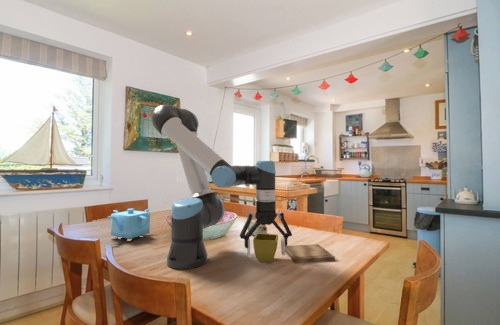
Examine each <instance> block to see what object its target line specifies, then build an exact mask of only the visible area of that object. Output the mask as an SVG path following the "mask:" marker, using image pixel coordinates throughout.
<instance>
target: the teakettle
mask: <svg viewBox="0 0 500 325" xmlns="http://www.w3.org/2000/svg"><path fill="white" fill-rule="evenodd" d="M150 210H151V208H147V209H144V211H141V210H135V208H127V210H125V211H120V212H119V211H118V210H115V209H114V210H112V211H113V213H111V214H110V215H109V216H107V218H109V219H110V220H111V221H110V226H111V227H110V235H111V236H113V237H116V238H118V237H122V238H123V239H134V238H138V236H144V237H145V235H147V234H148V235H149V234H150V233H151V232H150V230H151V221H150V220H151V216H150V214H151V213H150V212H149V211H150Z"/></svg>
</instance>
